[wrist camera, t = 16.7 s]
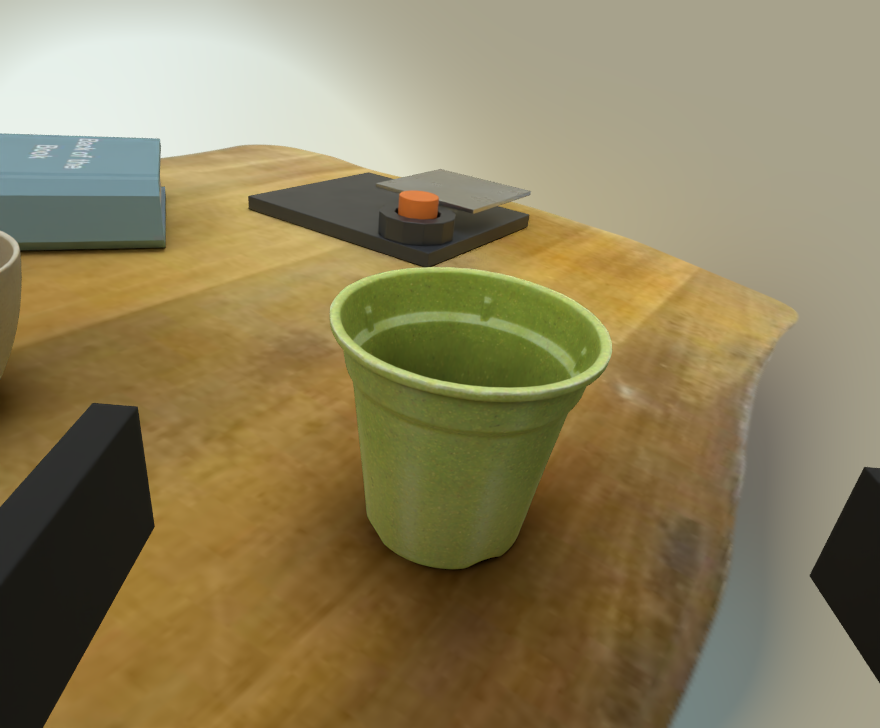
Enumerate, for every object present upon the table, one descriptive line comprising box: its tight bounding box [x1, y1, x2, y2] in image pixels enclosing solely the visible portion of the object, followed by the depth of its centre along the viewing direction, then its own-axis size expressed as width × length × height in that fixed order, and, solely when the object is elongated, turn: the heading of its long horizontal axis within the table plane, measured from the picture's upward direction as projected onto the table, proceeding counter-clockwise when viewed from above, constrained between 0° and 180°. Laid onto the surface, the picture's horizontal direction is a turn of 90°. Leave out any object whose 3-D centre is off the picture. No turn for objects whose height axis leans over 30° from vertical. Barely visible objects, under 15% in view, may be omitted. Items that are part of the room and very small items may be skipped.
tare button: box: [398, 191, 439, 219], centre depth 53 cm, size 3×3×2 cm
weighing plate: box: [376, 169, 531, 214], centre depth 60 cm, size 10×10×1 cm
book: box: [0, 134, 166, 250], centre depth 50 cm, size 23×16×5 cm
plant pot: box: [330, 267, 612, 569], centre depth 24 cm, size 9×9×9 cm
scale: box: [248, 173, 529, 267], centre depth 61 cm, size 20×17×3 cm
